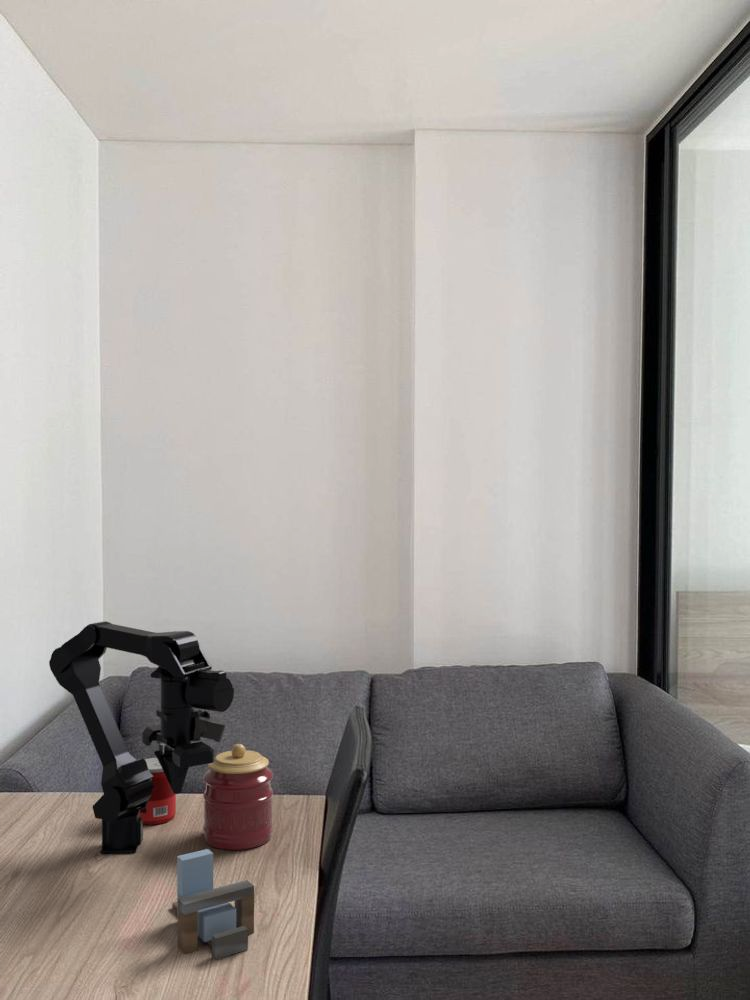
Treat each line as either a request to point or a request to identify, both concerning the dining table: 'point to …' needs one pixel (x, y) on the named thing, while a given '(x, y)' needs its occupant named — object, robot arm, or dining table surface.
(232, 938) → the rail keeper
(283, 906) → the dining table surface
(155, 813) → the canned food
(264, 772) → the canister
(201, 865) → the light blue l-shaped block
